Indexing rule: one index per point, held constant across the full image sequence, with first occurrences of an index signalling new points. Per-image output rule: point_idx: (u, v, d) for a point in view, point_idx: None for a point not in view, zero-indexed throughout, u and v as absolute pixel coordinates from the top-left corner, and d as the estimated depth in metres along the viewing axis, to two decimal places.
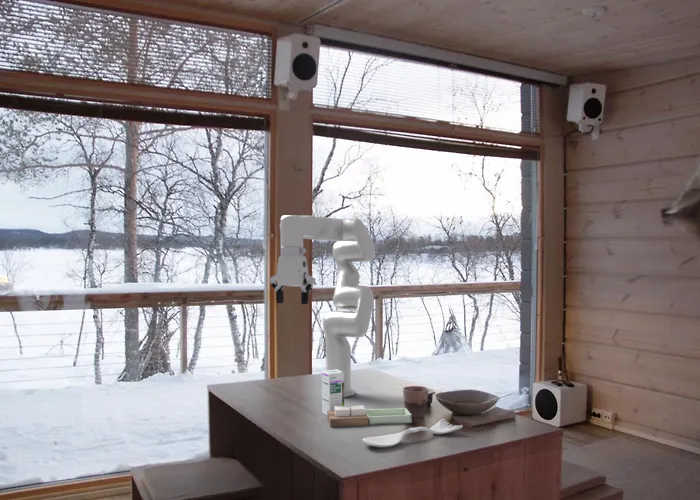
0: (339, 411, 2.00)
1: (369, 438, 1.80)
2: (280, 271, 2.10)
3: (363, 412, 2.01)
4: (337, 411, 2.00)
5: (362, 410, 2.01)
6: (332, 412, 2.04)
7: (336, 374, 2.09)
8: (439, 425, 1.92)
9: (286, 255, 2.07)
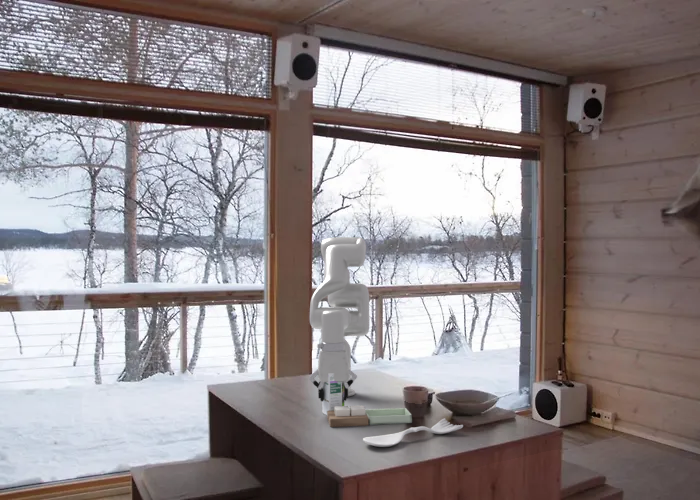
0: (339, 411, 2.00)
1: (369, 438, 1.80)
2: None
3: (363, 412, 2.01)
4: (337, 411, 2.00)
5: (362, 410, 2.01)
6: (332, 412, 2.04)
7: None
8: (440, 425, 1.92)
9: None
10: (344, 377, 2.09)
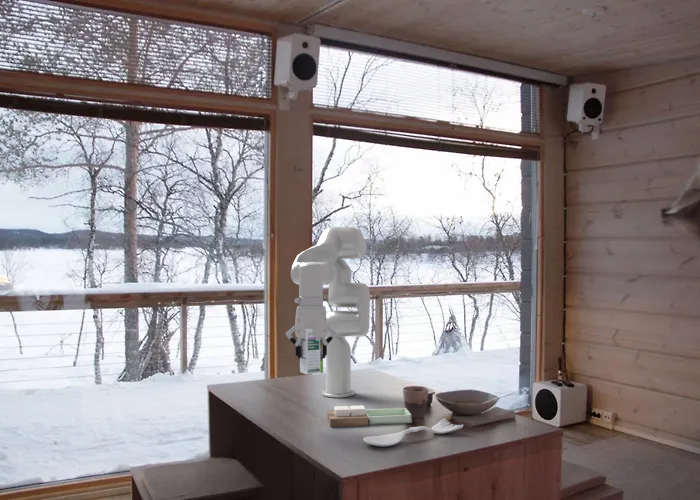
0: (339, 411, 2.00)
1: (370, 437, 1.81)
2: None
3: (363, 412, 2.01)
4: (337, 411, 2.00)
5: (362, 410, 2.01)
6: (332, 412, 2.04)
7: None
8: (440, 425, 1.92)
9: None
10: (322, 333, 1.98)
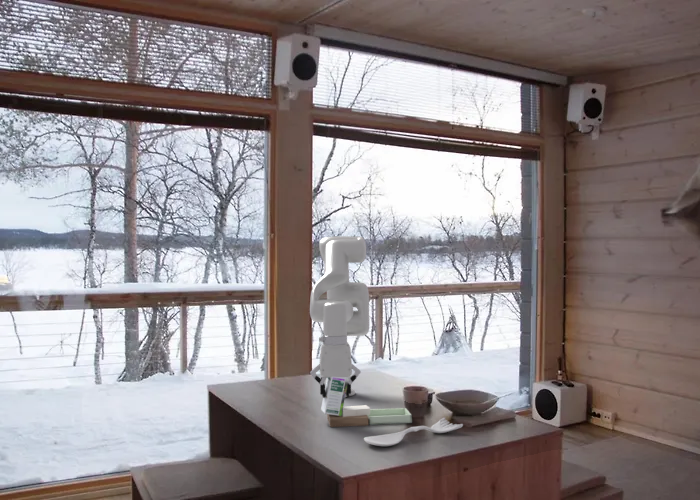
0: (346, 411, 1.99)
1: (370, 437, 1.81)
2: None
3: (368, 412, 2.01)
4: (344, 411, 1.99)
5: (367, 410, 2.01)
6: None
7: None
8: (439, 424, 1.93)
9: None
10: (347, 372, 1.99)
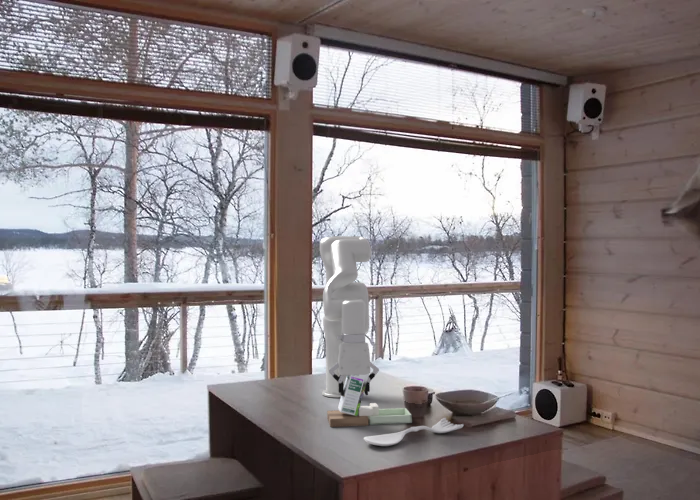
0: (362, 411, 2.00)
1: (370, 437, 1.81)
2: None
3: None
4: (360, 411, 2.00)
5: None
6: (332, 412, 2.04)
7: None
8: (440, 424, 1.93)
9: None
10: (365, 370, 2.00)
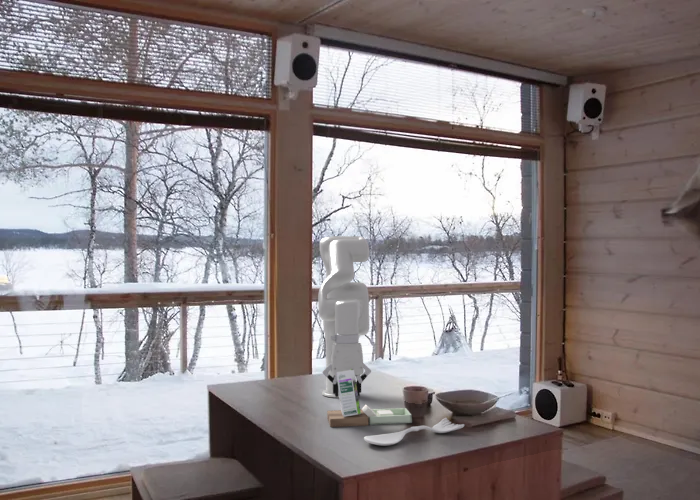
0: (370, 411, 2.00)
1: (370, 436, 1.81)
2: None
3: None
4: (368, 410, 2.00)
5: None
6: (332, 412, 2.04)
7: (345, 372, 1.98)
8: (441, 424, 1.93)
9: None
10: (359, 370, 2.00)
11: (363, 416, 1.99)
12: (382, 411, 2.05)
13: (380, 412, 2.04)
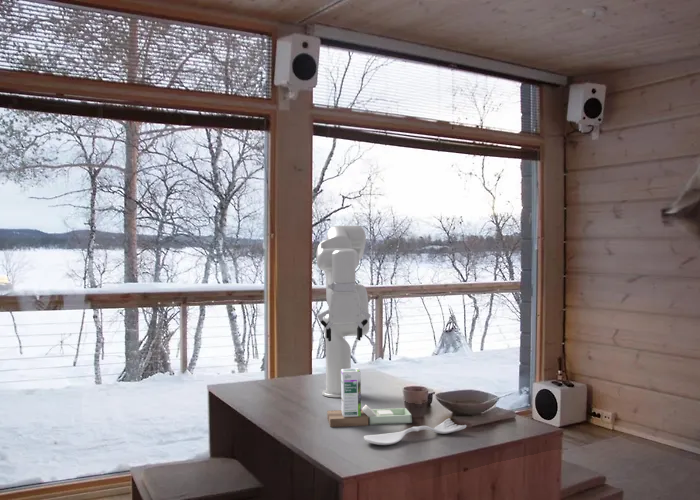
0: (370, 411, 2.00)
1: (371, 436, 1.82)
2: None
3: None
4: (368, 410, 2.00)
5: None
6: (332, 412, 2.04)
7: (351, 373, 1.99)
8: (443, 425, 1.92)
9: None
10: (356, 318, 2.03)
11: (363, 416, 1.99)
12: (382, 411, 2.05)
13: (380, 412, 2.04)
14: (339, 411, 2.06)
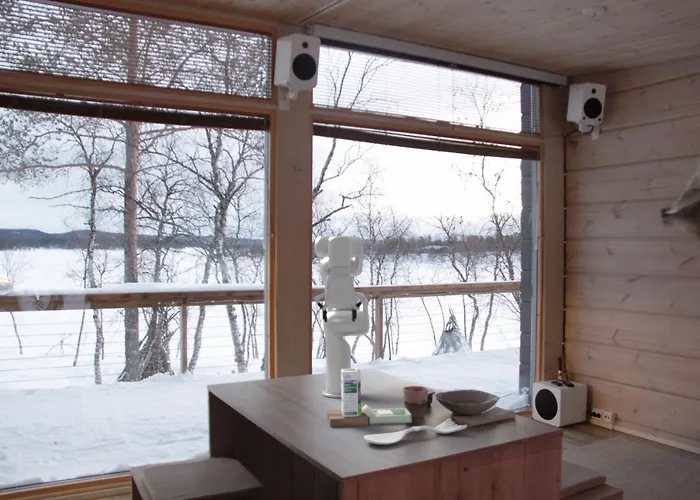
0: (370, 411, 2.00)
1: (371, 435, 1.82)
2: None
3: None
4: (368, 410, 2.00)
5: None
6: (332, 412, 2.04)
7: (351, 373, 1.99)
8: (444, 425, 1.92)
9: None
10: (350, 300, 2.16)
11: (363, 416, 1.99)
12: (382, 411, 2.05)
13: (380, 412, 2.04)
14: (339, 411, 2.06)
